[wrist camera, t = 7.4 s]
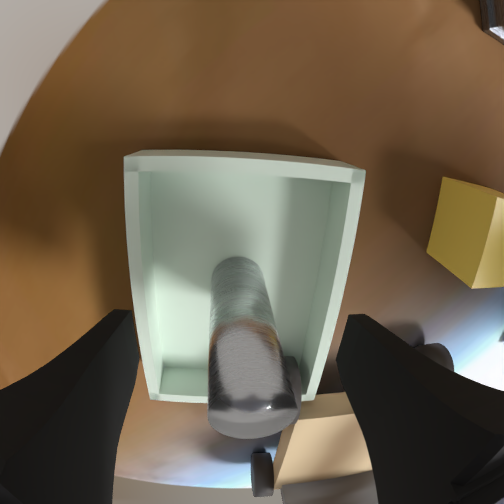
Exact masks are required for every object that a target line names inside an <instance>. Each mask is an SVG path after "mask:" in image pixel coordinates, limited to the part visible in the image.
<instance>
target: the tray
mask: <svg viewBox="0 0 504 504" xmlns="http://www.w3.org/2000/svg"><path fill="white" fill-rule="evenodd" d="M365 175H366V170H363V169H361V168H358V167H356V166H353V165H350V164H348V163H345V162H342V161H336V160H328V159H320V158H311V157H301V156H291V155H280V154H267V153H253V152H236V151H213V150H141V151H138V152H135V153H132V154H130V155H127V156H124V197H125V219H126V236H127V249H128V260H129V271H130V280H131V289H132V297H133V305H134V312H135V319H136V326H137V332H138V339H139V345H140V350H141V356H142V361H143V367H144V372H145V377H146V382H147V386H148V391H149V396H150V400H162V401H175V402H192V403H208V355H209V323H210V298H211V278H212V273H213V271H214V269H215V267H216V266H217V265H218V264H219V263H220V262H222V261H223V260H225V259H227V258H231V257H246V258H249V259H251V260H253V261H254V262H256V263H257V264H258V266H259V267H260V268H261V270H262V273H263V276H264V280H265V284H266V288H267V292H268V296H269V299H270V303H271V307H272V311H273V315H274V319H275V323H276V327H277V330H278V334H279V338H280V342H281V346H282V350H283V354H284V356H293V357H294V358H295V359H296V361H297V363H298V367H299V371H300V377H301V389H302V399H301V401H311V400H314V398H315V395H316V392H317V389H318V386H319V382H320V379H321V376H322V372H323V369H324V366H325V362H326V359H327V355H328V352H329V348H330V344H331V341H332V337H333V333H334V329H335V325H336V322H337V318H338V314H339V310H340V305H341V301H342V297H343V293H344V288H345V284H346V280H347V275H348V270H349V266H350V261H351V256H352V251H353V246H354V241H355V236H356V230H357V225H358V219H359V213H360V207H361V201H362V195H363V189H364V182H365Z"/></svg>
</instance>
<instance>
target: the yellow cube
mask: <svg viewBox="0 0 504 504" xmlns="http://www.w3.org/2000/svg"><path fill="white" fill-rule="evenodd" d="M426 253H428V254H429V255H430V256H432V257H433V258H434V259H435V260H437V261H438V262H439V263H440V264H442V265H443V266H444V267H446V268H447V269H448V270H449V271H451V272H452V273H453V274H454V275H456V276H457V277H458V278H459V279H460V280H462V281H463V282H464V283H465V284H466V285H468V286H469V287H470V288H471V289H474V288H493V287H504V193H501V192H499V191H496V190H494V189H491V188H488V187H484V186H480V185H476V184H472V183H468V182H464V181H460V180H456V179H452V178H447V177H442V183H441V189H440V194H439V199H438V204H437V209H436V214H435V218H434V223H433V227H432V231H431V235H430V239H429V243H428V247H427V251H426Z"/></svg>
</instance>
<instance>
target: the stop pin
mask: <svg viewBox="0 0 504 504" xmlns="http://www.w3.org/2000/svg"><path fill="white" fill-rule="evenodd" d="M296 415H297V404H296V401H295V397H294V393H293V389H292V385H291V381H290V377H289V373H288V369H287V365H286V361H285V358H284V354H283V350H282V346H281V342H280V338H279V334H278V330H277V327H276V323H275V319H274V315H273V311H272V307H271V303H270V299H269V296H268V292H267V288H266V284H265V280H264V276H263V273H262V270H261V268H260V267H259V266H258V264H257V263H256V262H254V261H253V260H251V259H249V258H246V257H231V258H227V259H225V260H223V261H222V262H220V263H219V264H218V265H217V266H216V267H215V269H214V271H213V273H212V278H211V298H210V323H209V355H208V414H207V416H208V421H209V423H210V425H211V426H212V427H213V428H214V429H215V430H216V431H218V432H220V433H221V434H224V435H226V436H229V437H233V438H240V439H255V438H262V437H266V436H270V435H273V434H275V433H278V432H280V431H281V430H283V429H285V428H286V427H288V426H289V425H290V424H291V423H292V422H293V420H294V419H295V417H296Z"/></svg>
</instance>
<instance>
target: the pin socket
mask: <svg viewBox="0 0 504 504" xmlns="http://www.w3.org/2000/svg"><path fill="white" fill-rule="evenodd" d="M480 8H481V17H482V27H483V31H484V32H485V33H487V34H488V35H490V36H491V37H493V38H495V39H496V40H498V41H499V42H501V43H502V44H504V0H480Z"/></svg>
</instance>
